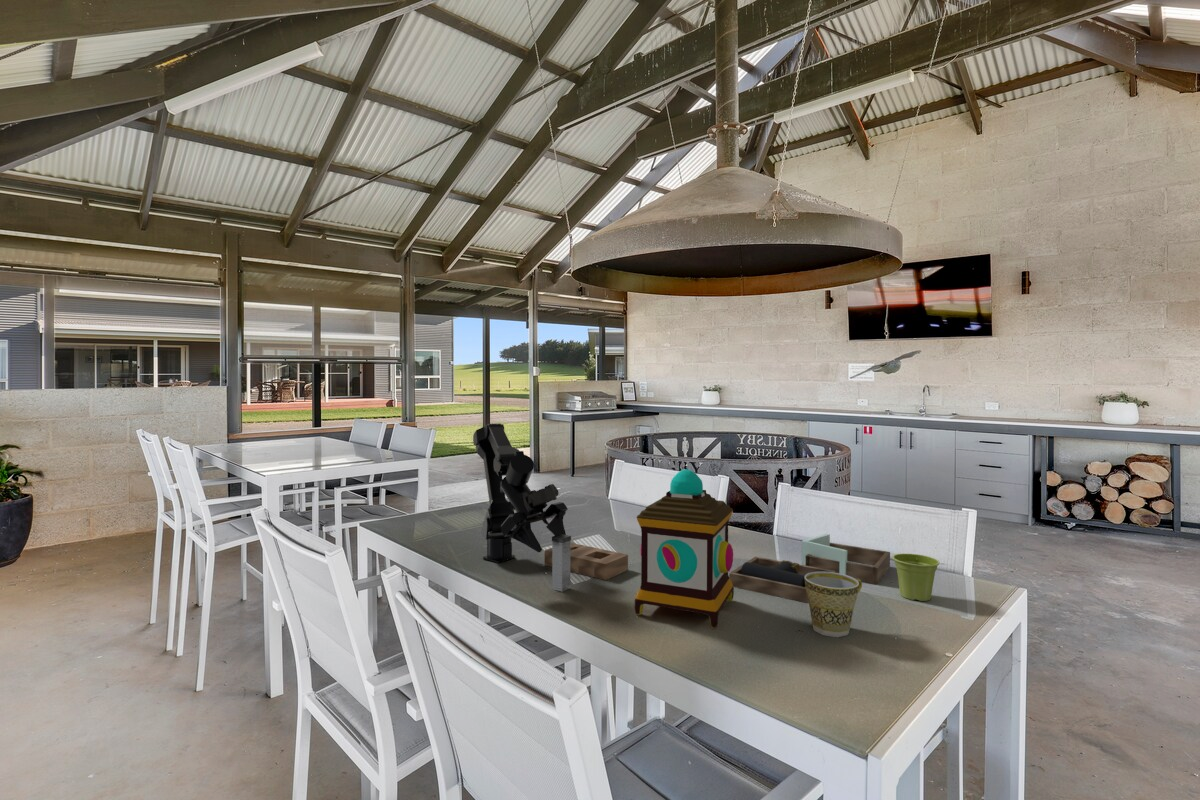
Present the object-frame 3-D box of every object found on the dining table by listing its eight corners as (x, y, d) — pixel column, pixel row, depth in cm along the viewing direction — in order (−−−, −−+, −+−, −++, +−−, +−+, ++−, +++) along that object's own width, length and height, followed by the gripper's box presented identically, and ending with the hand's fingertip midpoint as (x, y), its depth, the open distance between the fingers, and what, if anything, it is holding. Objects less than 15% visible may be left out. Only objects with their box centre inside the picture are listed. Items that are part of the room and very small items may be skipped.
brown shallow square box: (805, 571, 149) (805, 555, 149) (823, 555, 163) (823, 541, 162) (877, 584, 139) (877, 568, 139) (889, 566, 153) (890, 552, 152)
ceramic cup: (830, 645, 106) (831, 591, 106) (792, 624, 115) (793, 575, 115) (881, 633, 111) (882, 581, 111) (841, 614, 121) (841, 567, 120)
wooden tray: (729, 585, 138) (729, 573, 138) (755, 567, 152) (755, 556, 151) (815, 604, 126) (815, 590, 126) (835, 583, 140) (835, 570, 140)
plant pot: (882, 592, 133) (883, 555, 133) (911, 587, 137) (911, 551, 137) (919, 607, 125) (919, 567, 125) (948, 600, 129) (949, 562, 128)
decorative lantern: (741, 599, 129) (742, 466, 128) (722, 634, 111) (723, 479, 110) (656, 586, 137) (656, 461, 136) (625, 616, 119) (626, 472, 118)
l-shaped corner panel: (845, 581, 143) (845, 551, 143) (801, 569, 152) (802, 540, 152) (868, 571, 150) (869, 543, 150) (825, 560, 160) (826, 533, 159)
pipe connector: (763, 553, 147) (821, 565, 137) (763, 573, 148) (821, 587, 137) (740, 564, 139) (800, 578, 129) (740, 585, 139) (800, 601, 129)
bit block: (544, 565, 153) (544, 550, 153) (568, 556, 161) (568, 542, 161) (605, 580, 141) (605, 564, 141) (628, 569, 149) (628, 554, 149)
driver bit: (551, 589, 135) (551, 536, 135) (560, 585, 138) (560, 533, 137) (562, 592, 133) (562, 538, 133) (570, 588, 136) (571, 536, 135)
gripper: (509, 479, 132) (545, 534, 125) (561, 470, 147) (596, 519, 140) (485, 509, 136) (519, 564, 130) (539, 497, 152) (571, 546, 145)
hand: (553, 546), depth 136 cm, fingers open, 9 cm apart
